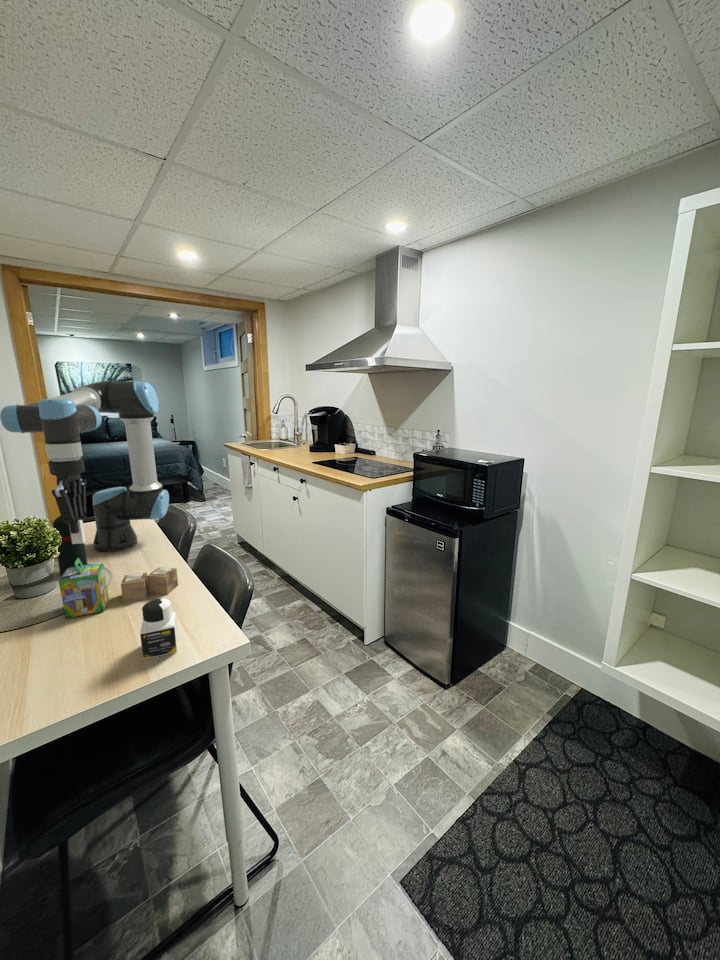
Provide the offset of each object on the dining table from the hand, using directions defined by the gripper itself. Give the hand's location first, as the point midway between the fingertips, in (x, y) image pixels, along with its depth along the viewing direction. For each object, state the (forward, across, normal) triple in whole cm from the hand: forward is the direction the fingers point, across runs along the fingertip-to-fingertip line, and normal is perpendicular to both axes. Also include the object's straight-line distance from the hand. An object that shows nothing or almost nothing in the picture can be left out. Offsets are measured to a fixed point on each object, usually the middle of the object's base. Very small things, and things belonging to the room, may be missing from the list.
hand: (79, 542), depth 108 cm
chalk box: (+20, +1, 0) cm, 20 cm away
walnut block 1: (+20, -4, +11) cm, 23 cm away
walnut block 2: (+20, -7, +18) cm, 28 cm away
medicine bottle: (+20, +24, +26) cm, 40 cm away
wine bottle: (+20, -26, -16) cm, 37 cm away
